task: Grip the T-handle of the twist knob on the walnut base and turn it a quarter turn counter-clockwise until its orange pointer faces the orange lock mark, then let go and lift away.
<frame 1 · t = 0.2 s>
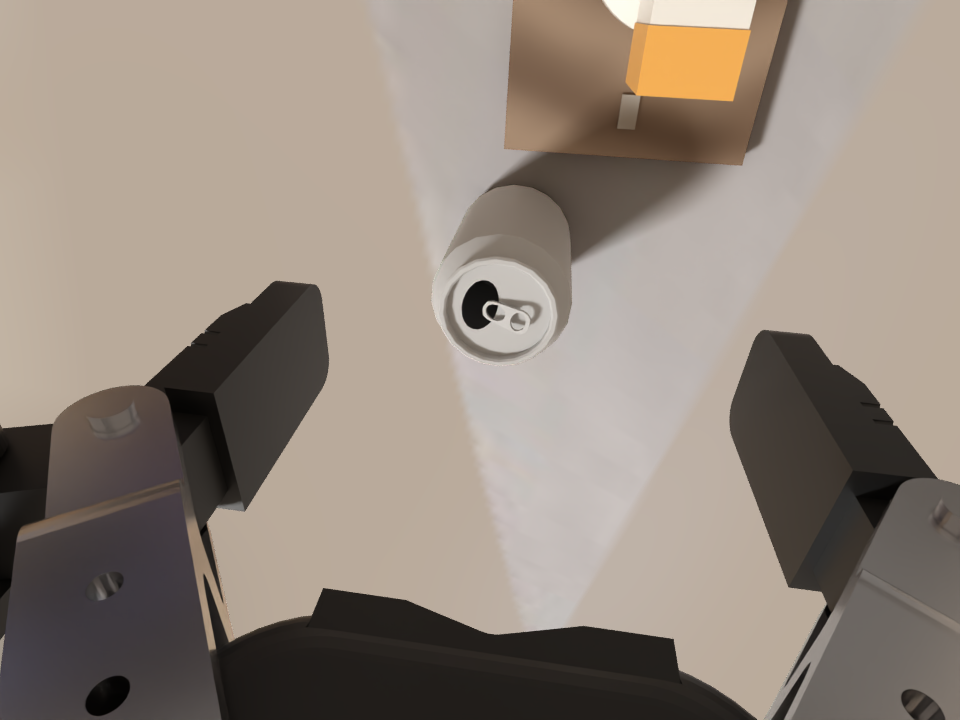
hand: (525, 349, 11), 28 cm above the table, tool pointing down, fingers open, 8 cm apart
can: (515, 235, 39), on the table
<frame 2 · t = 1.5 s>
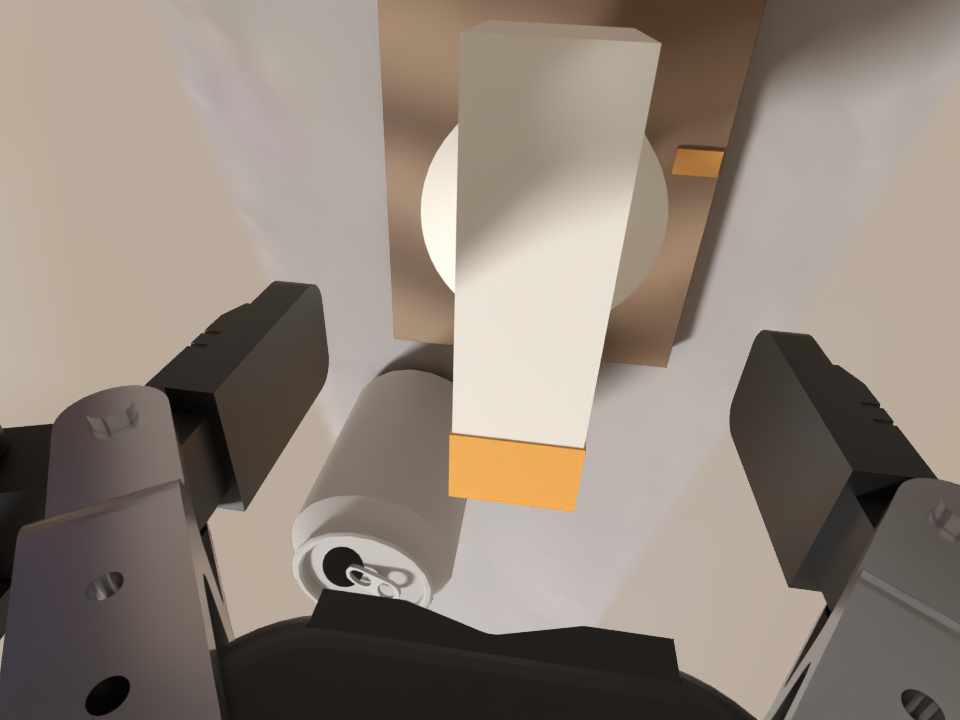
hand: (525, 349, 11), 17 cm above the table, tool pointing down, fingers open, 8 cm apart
can: (421, 410, 34), on the table
twist knob: (538, 246, 15), point 12 cm above the table, hinge at 0.0°
lock base: (549, 142, 25), on the table
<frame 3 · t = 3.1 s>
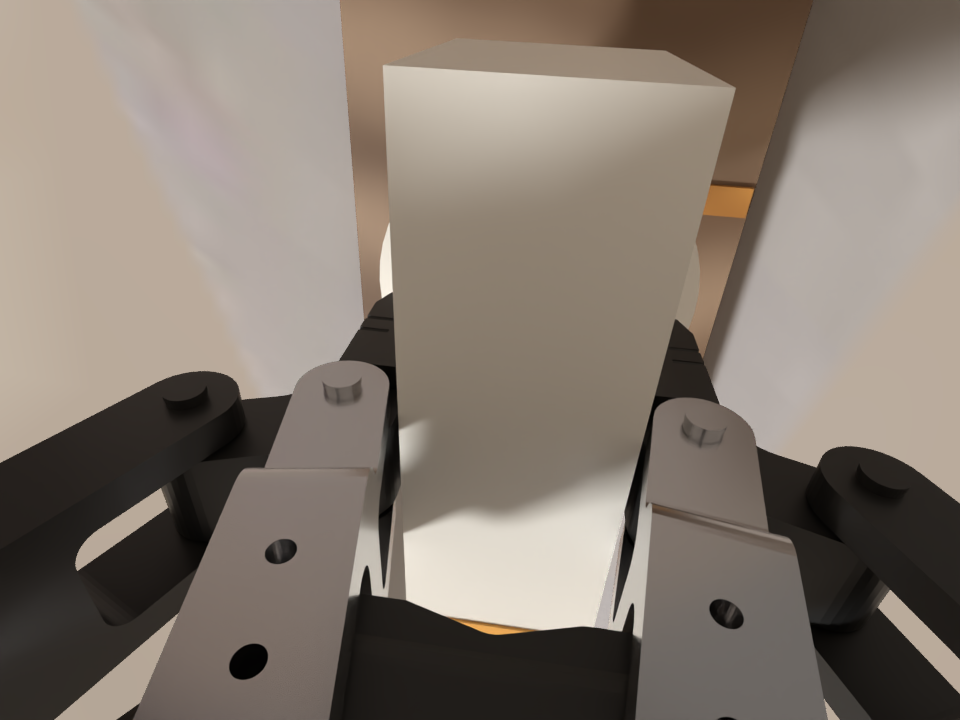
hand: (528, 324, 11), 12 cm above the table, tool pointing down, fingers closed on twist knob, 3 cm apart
can: (404, 465, 31), on the table
twist knob: (529, 335, 11), point 12 cm above the table, hinge at 0.0°, touching gripper
lock base: (547, 174, 21), on the table
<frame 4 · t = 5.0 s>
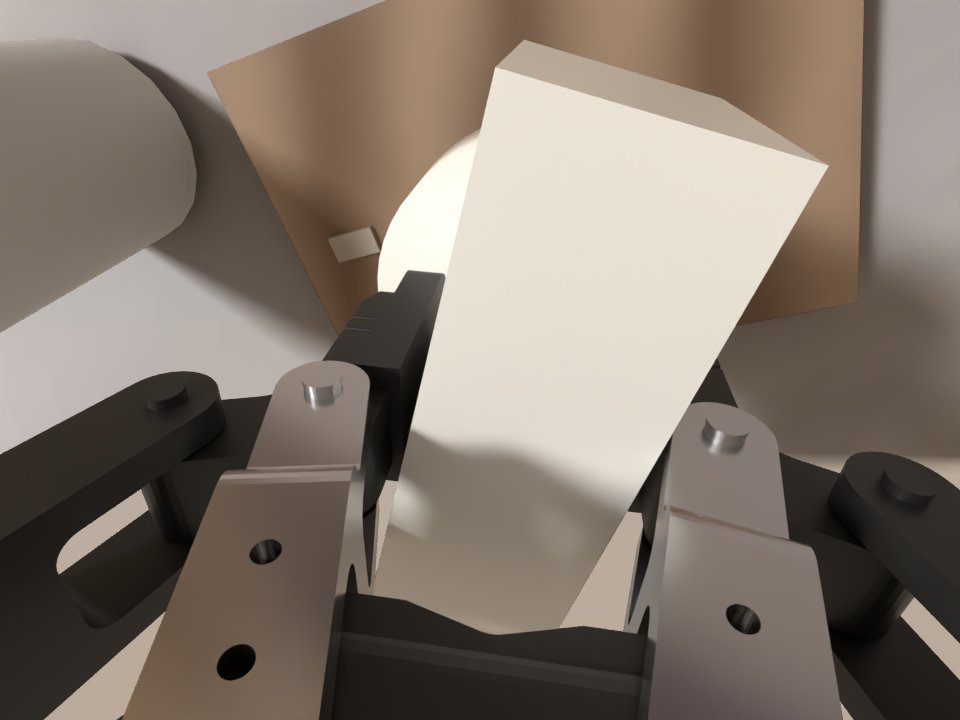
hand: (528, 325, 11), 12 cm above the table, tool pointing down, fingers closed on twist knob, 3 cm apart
can: (121, 143, 23), on the table
twist knob: (526, 343, 11), point 12 cm above the table, hinge at 58.2°, touching gripper
lock base: (544, 179, 21), on the table
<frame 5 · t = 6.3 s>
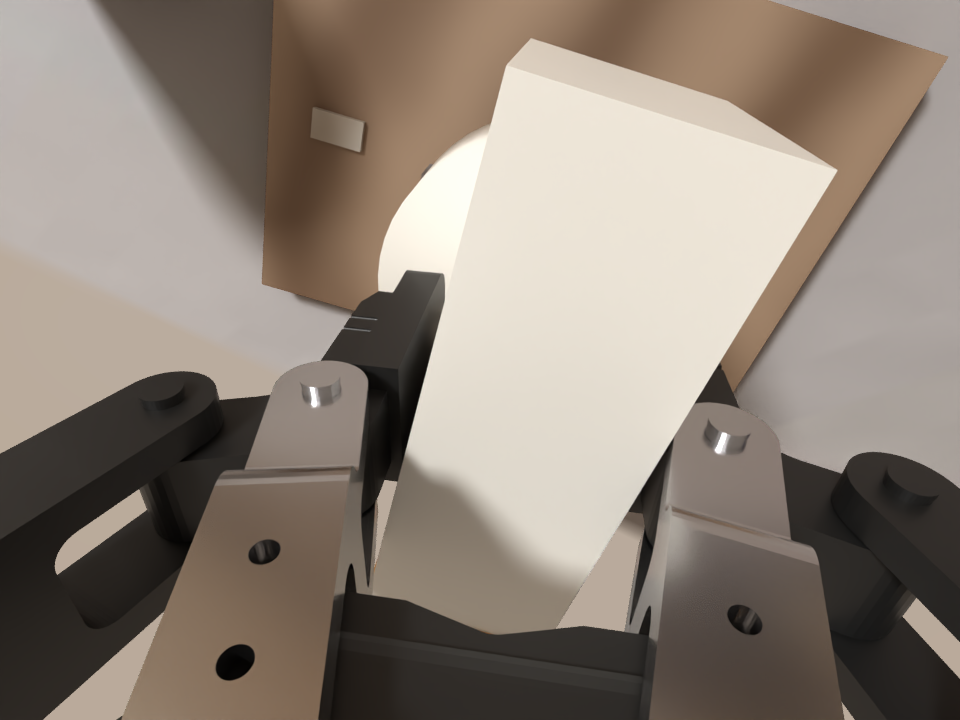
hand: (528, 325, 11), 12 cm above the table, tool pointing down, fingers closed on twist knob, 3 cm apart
twist knob: (526, 342, 11), point 12 cm above the table, hinge at 89.5°, touching gripper
lock base: (545, 179, 21), on the table
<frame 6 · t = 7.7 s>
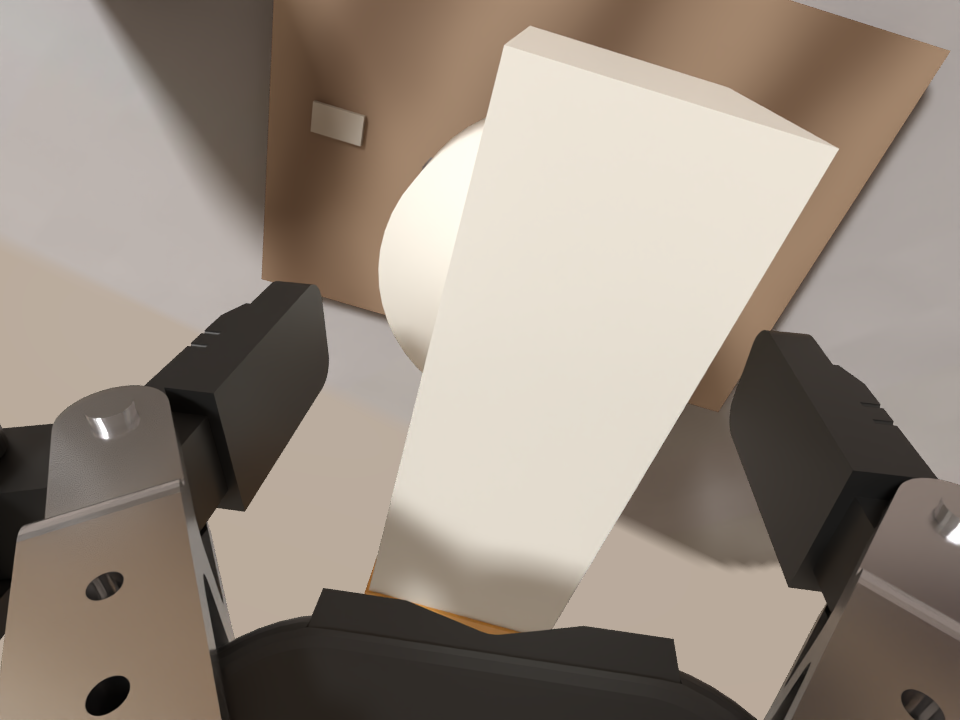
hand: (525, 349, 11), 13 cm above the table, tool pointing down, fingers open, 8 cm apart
twist knob: (527, 334, 11), point 12 cm above the table, hinge at 89.9°
lock base: (546, 174, 21), on the table
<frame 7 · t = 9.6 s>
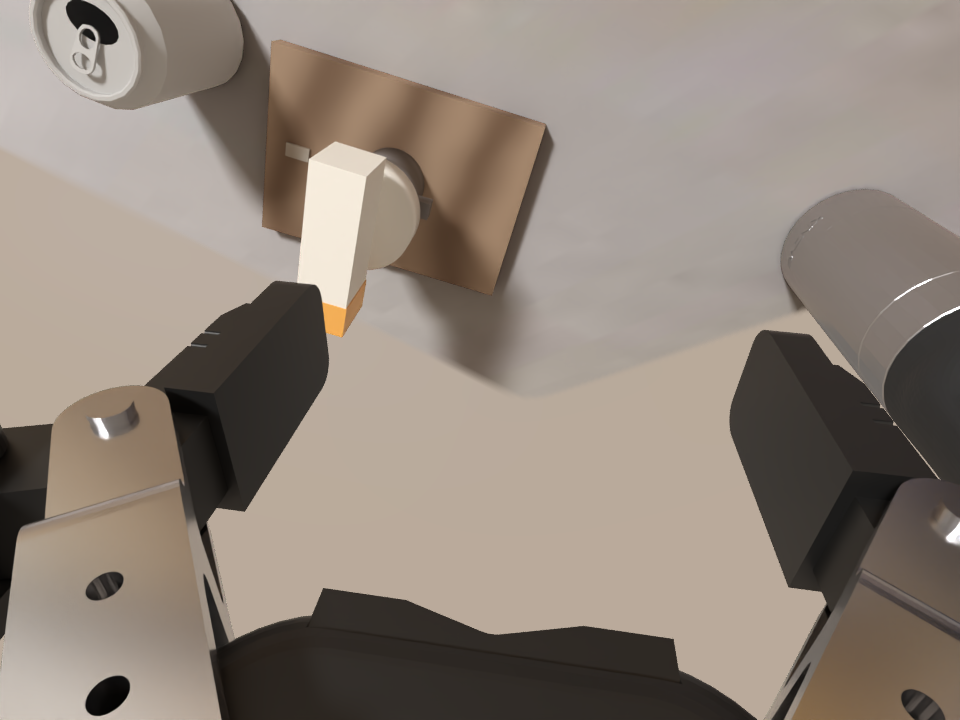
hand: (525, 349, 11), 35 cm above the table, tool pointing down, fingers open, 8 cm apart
can: (200, 29, 41), on the table
twist knob: (350, 229, 35), point 12 cm above the table, hinge at 90.0°
lock base: (397, 175, 45), on the table
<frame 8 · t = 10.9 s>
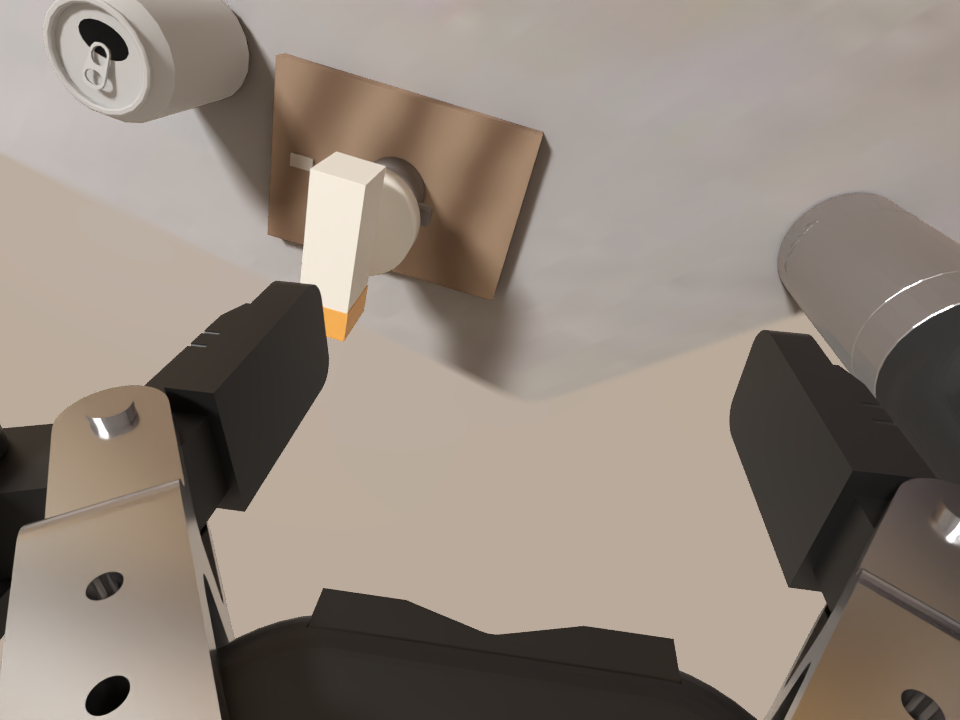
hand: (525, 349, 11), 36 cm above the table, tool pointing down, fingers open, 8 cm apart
can: (207, 44, 42), on the table
twist knob: (351, 236, 36), point 12 cm above the table, hinge at 90.0°
lock base: (398, 184, 46), on the table
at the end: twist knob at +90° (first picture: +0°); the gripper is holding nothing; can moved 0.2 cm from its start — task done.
